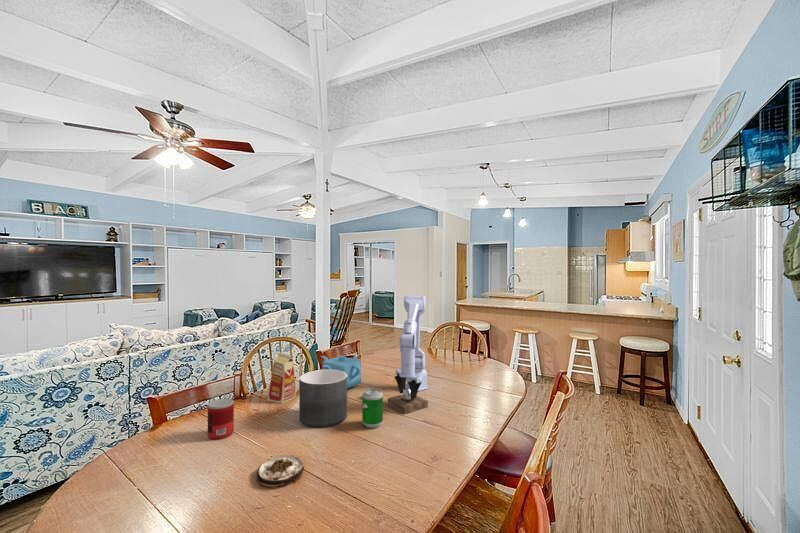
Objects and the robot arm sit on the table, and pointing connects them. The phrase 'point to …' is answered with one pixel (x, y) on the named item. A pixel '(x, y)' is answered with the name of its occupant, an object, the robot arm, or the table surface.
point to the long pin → (406, 395)
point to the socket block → (407, 404)
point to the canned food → (220, 418)
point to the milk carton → (282, 380)
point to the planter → (322, 398)
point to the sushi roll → (280, 471)
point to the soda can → (372, 408)
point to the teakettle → (345, 368)
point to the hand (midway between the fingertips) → (407, 395)
